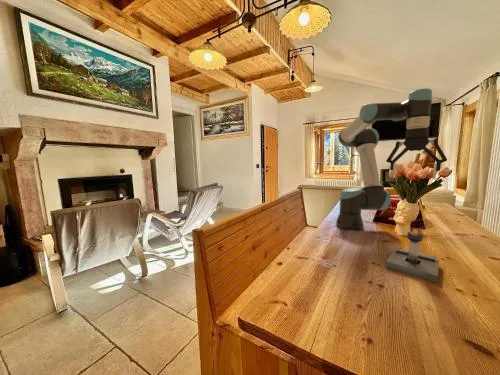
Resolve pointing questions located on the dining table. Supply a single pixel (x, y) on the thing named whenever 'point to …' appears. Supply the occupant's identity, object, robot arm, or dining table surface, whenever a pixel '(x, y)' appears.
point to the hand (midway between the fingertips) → (412, 178)
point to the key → (414, 245)
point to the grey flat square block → (414, 265)
